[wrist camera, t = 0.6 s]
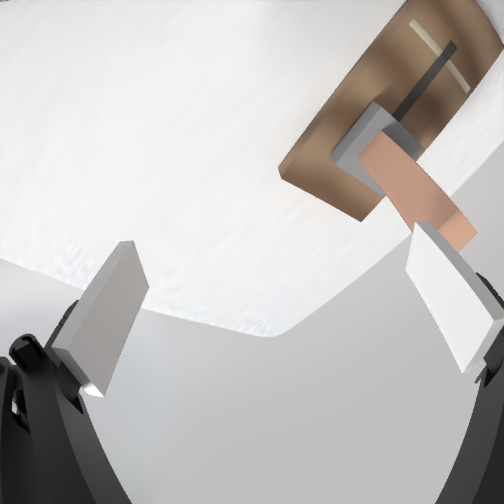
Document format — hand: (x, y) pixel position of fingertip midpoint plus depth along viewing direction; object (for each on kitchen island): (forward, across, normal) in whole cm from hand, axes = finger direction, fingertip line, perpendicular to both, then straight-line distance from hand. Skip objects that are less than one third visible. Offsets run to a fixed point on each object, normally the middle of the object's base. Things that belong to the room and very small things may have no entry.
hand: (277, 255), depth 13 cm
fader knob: (+12, +9, +2) cm, 16 cm away
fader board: (+14, +12, +7) cm, 20 cm away
